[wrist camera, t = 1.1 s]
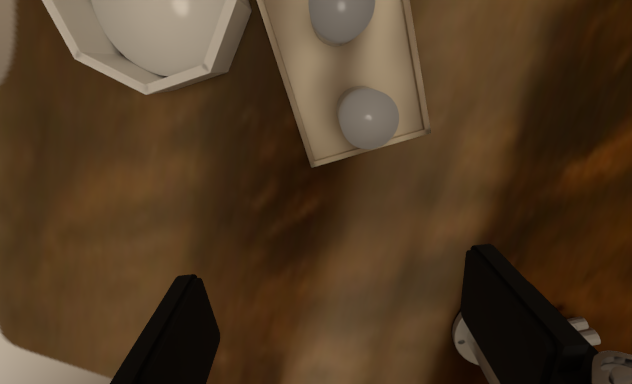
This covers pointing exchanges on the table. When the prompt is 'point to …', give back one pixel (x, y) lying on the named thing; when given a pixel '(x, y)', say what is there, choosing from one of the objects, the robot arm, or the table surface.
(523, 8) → the table surface
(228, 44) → the bowl
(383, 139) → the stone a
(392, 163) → the table surface
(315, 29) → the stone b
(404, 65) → the tray
